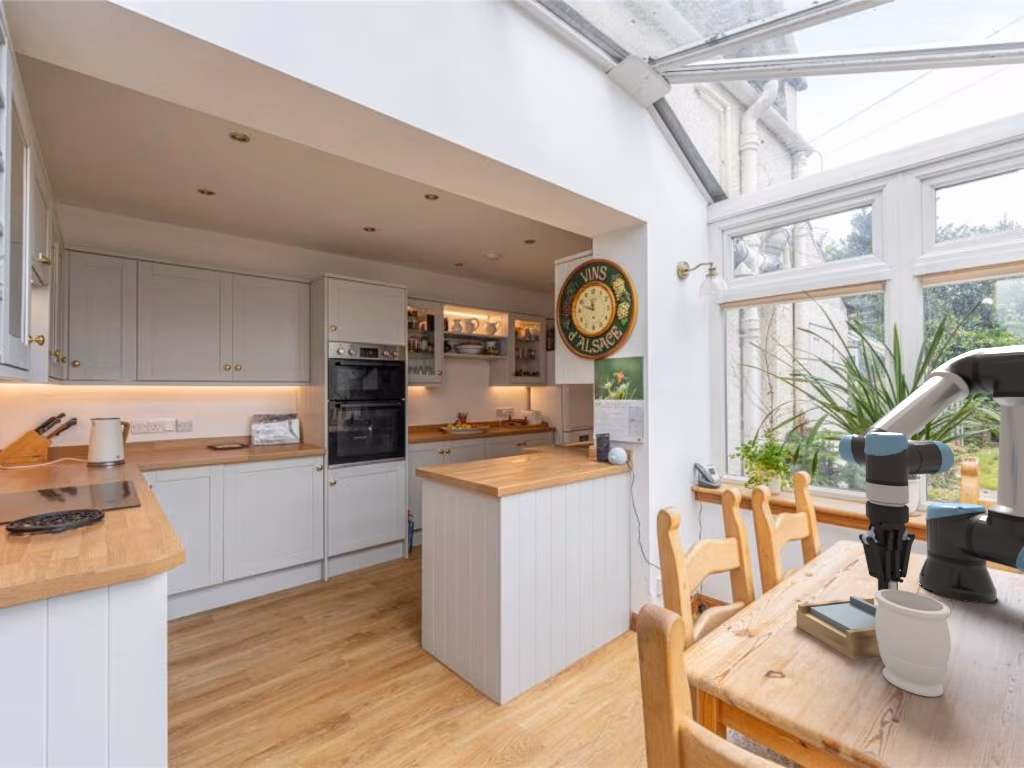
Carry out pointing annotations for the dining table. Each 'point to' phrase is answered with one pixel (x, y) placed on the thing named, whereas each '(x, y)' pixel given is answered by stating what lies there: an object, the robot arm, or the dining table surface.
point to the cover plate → (848, 614)
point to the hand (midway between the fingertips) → (888, 609)
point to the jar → (913, 640)
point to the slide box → (839, 631)
